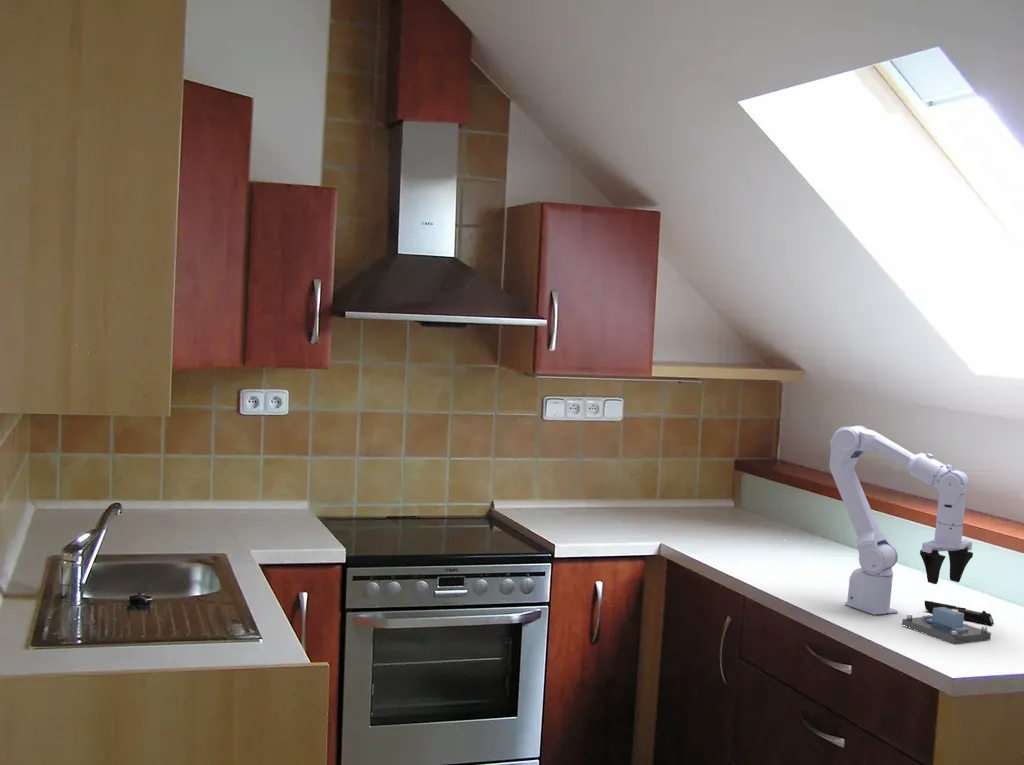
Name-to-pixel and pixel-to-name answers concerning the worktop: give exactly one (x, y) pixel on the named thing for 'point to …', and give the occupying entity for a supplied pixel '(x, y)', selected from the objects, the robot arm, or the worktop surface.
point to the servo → (948, 619)
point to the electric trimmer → (968, 614)
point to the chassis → (945, 634)
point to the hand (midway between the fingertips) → (943, 582)
